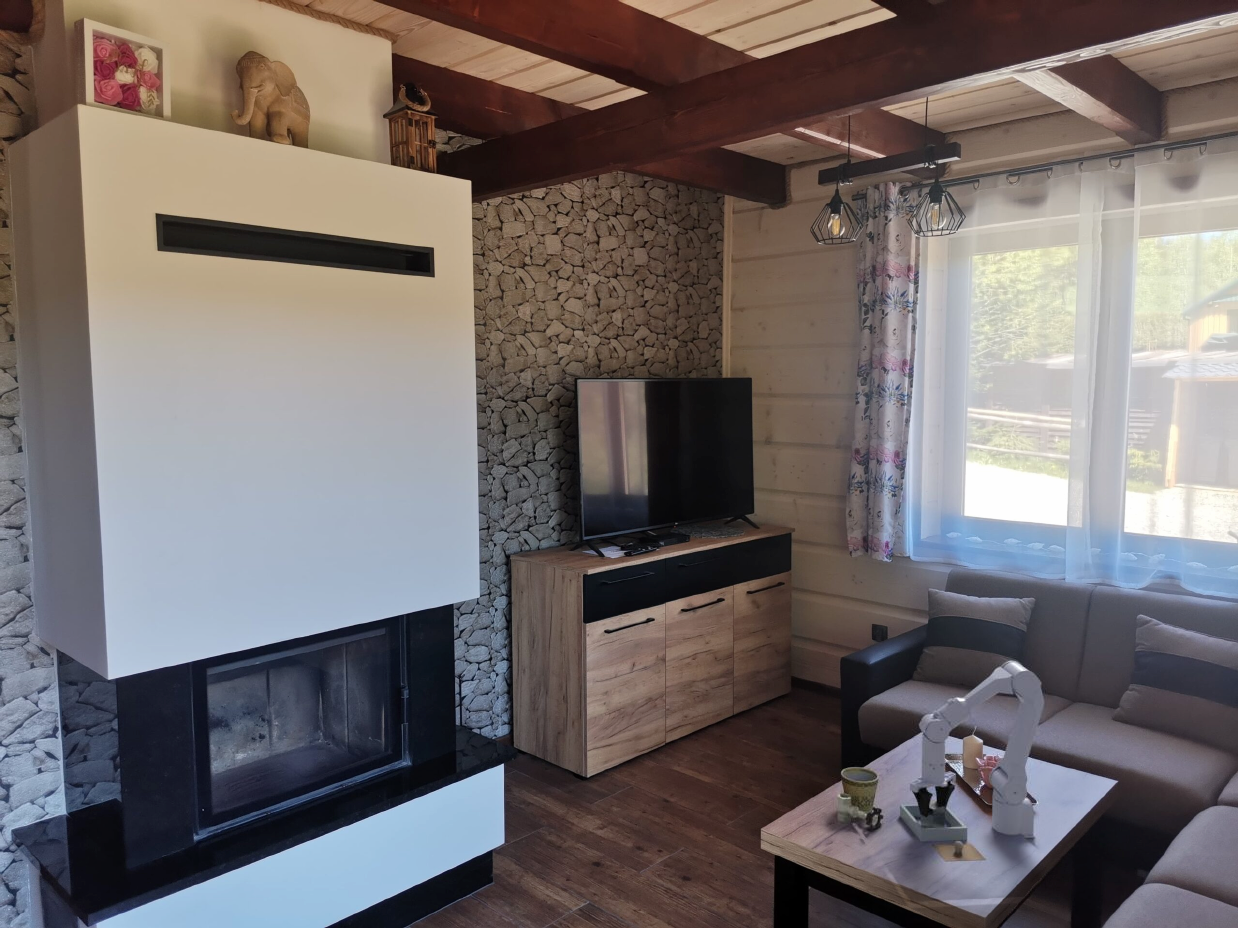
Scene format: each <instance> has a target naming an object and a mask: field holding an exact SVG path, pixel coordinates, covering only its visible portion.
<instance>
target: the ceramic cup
mask: <svg viewBox="0 0 1238 928" xmlns="http://www.w3.org/2000/svg"><path fill="white" fill-rule="evenodd" d="M840 778H841V784H842V789H843V793H846V794H849V795H851V804H852V806H857V807H858V808H859V810H860V811H862V812H865V813H866V815H867V814H868V813H869V812H870V813H872V812H873V810H872V808H873V807H874V803H875V797H876V793H877V789H878V784H879V774H878V773H876V772H875V771H874V770H873V769H871V768H865V767H858V766H855V767H854V766H853V767H847V768H844V769H842V770H841V771H840Z"/></svg>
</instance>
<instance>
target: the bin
mask: <svg viewBox="0 0 1238 928" xmlns="http://www.w3.org/2000/svg"><path fill="white" fill-rule="evenodd" d="M899 817H901V819H902V820H903V821H904V823H905V824H906V825H907V826H908V828H909V829H910V830H911V831H912V832H913V834H914V835H915V836H916V837H917V839H918V840H919V841H920V842H940V841H941V842H942V841H944V842H945V841H946V842H947V841H966V840H968V827H967V826H966V825H965V824H964V823H963V822H962V821H961V820H960V819H959V818H958V817H957V815H956V814H955V813H954V812H953V811H952V810H951V809H950V808H949V807H948V806H947V807H946V810H945V822H947V823H948V824H949V825H950V826H945V827H939V828H924V827H922V826H921V823H919V822H918V821H917V820H916V817H917V818H918V817H919V818H921V814H920V810H919V806H918V803H916V804H915V803H914V804H900V805H899Z"/></svg>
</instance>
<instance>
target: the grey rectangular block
mask: <svg viewBox="0 0 1238 928" xmlns="http://www.w3.org/2000/svg"><path fill="white" fill-rule="evenodd" d="M945 824H946V820H945V806H944V805H942V804H940V803H938V802H937V800H934V799H931V801H930V805H929V815H928V817H925V816H923V815H921V817H920V825H921V826H922V828H939V827H946V825H945Z"/></svg>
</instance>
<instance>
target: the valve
mask: <svg viewBox="0 0 1238 928" xmlns="http://www.w3.org/2000/svg"><path fill="white" fill-rule="evenodd" d="M835 808H836V812H837V821H839V822H841V823H850V822H852V821H851V820H852V818H853V819H856V818H858V817H859V818H860V819H862V820H865V825H866V826H869V827H868V828H867V831H868V832H870V833H871V832H873V831H874V830H877V829H878V828H881V827H882V825H883V824H882V823H881V822H882V820H883V819H884V815H883V814H882V811H883V810H882V808H879V807H876V806H873V808H872V812H869V813H868V814H867V815H866V813H865V812H862V811H860V810H859V808H858V807H857V806H852V804H851V795H849V794H846V793H844V792H841V793H838V794H837V803H836V807H835ZM874 824H875V825H874Z"/></svg>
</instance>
